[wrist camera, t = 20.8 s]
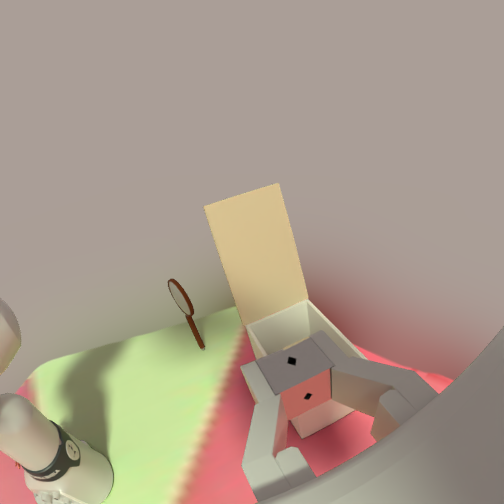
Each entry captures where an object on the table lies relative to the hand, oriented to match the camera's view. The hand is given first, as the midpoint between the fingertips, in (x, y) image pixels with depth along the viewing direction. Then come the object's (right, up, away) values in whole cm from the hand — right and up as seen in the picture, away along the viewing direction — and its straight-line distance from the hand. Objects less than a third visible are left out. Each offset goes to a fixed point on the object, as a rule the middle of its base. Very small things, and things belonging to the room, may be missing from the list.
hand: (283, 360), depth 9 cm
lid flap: (+1, +3, +42) cm, 42 cm away
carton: (+10, -22, +42) cm, 48 cm away
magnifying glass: (-12, -19, +56) cm, 61 cm away
